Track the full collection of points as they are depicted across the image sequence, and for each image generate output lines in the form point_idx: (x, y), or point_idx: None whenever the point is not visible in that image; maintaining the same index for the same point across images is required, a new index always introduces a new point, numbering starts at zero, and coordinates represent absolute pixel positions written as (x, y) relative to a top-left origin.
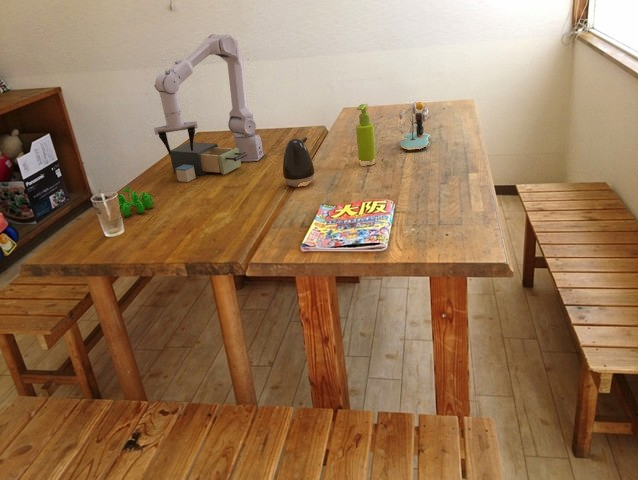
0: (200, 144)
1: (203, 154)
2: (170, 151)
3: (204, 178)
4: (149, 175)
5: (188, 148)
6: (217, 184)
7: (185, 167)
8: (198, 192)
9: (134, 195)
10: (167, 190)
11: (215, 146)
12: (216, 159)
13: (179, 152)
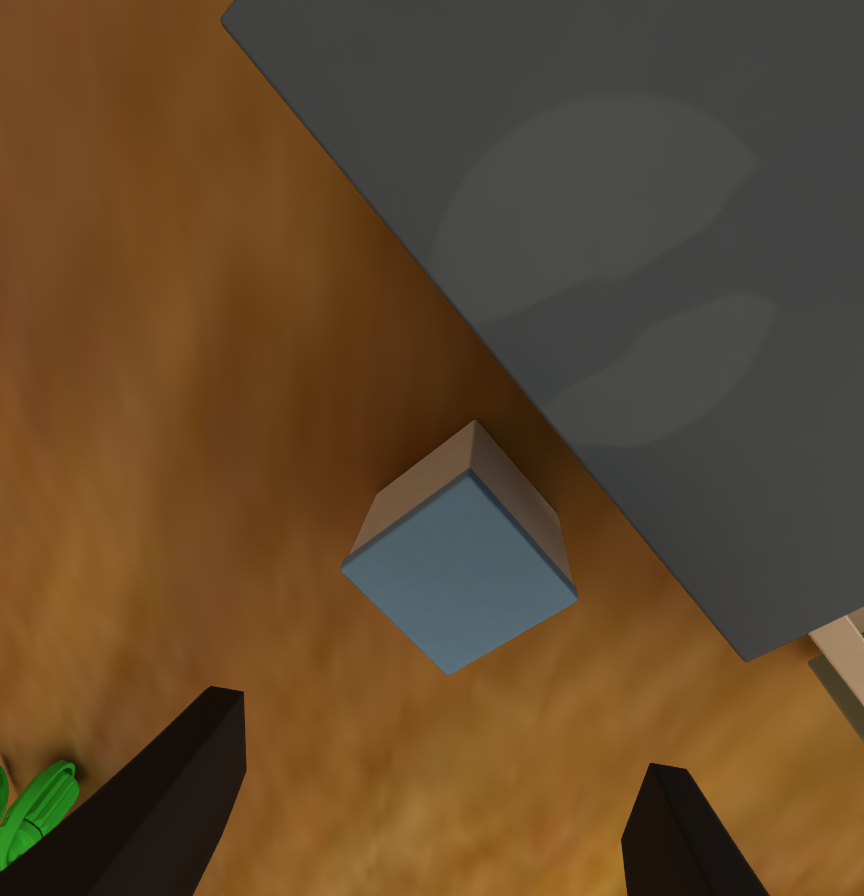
0: None
1: (831, 629)
2: (223, 807)
3: (628, 581)
4: (38, 6)
5: (728, 172)
6: None
7: (465, 618)
8: (485, 829)
9: (22, 850)
10: (270, 662)
11: None
12: None
13: (456, 307)
